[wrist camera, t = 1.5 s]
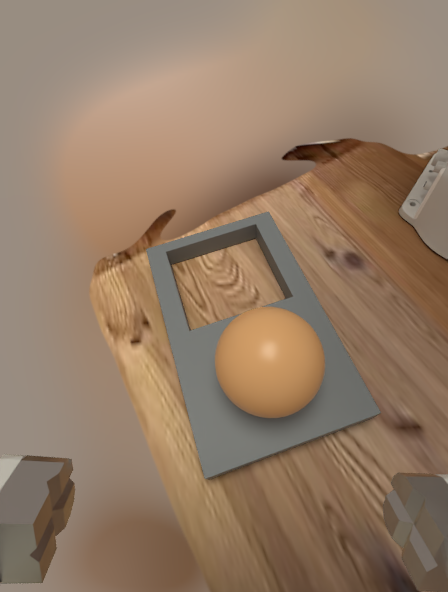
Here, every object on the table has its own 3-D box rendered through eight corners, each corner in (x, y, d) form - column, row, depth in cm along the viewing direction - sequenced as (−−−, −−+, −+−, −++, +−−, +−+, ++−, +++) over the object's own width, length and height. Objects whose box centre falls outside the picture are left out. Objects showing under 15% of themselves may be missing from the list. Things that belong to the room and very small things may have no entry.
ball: (242, 320, 38) (238, 272, 29) (327, 352, 35) (350, 309, 27) (204, 401, 34) (186, 371, 25) (297, 445, 31) (313, 428, 22)
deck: (371, 418, 34) (381, 412, 32) (208, 479, 33) (204, 479, 30) (268, 226, 49) (268, 211, 46) (152, 262, 47) (146, 249, 45)
